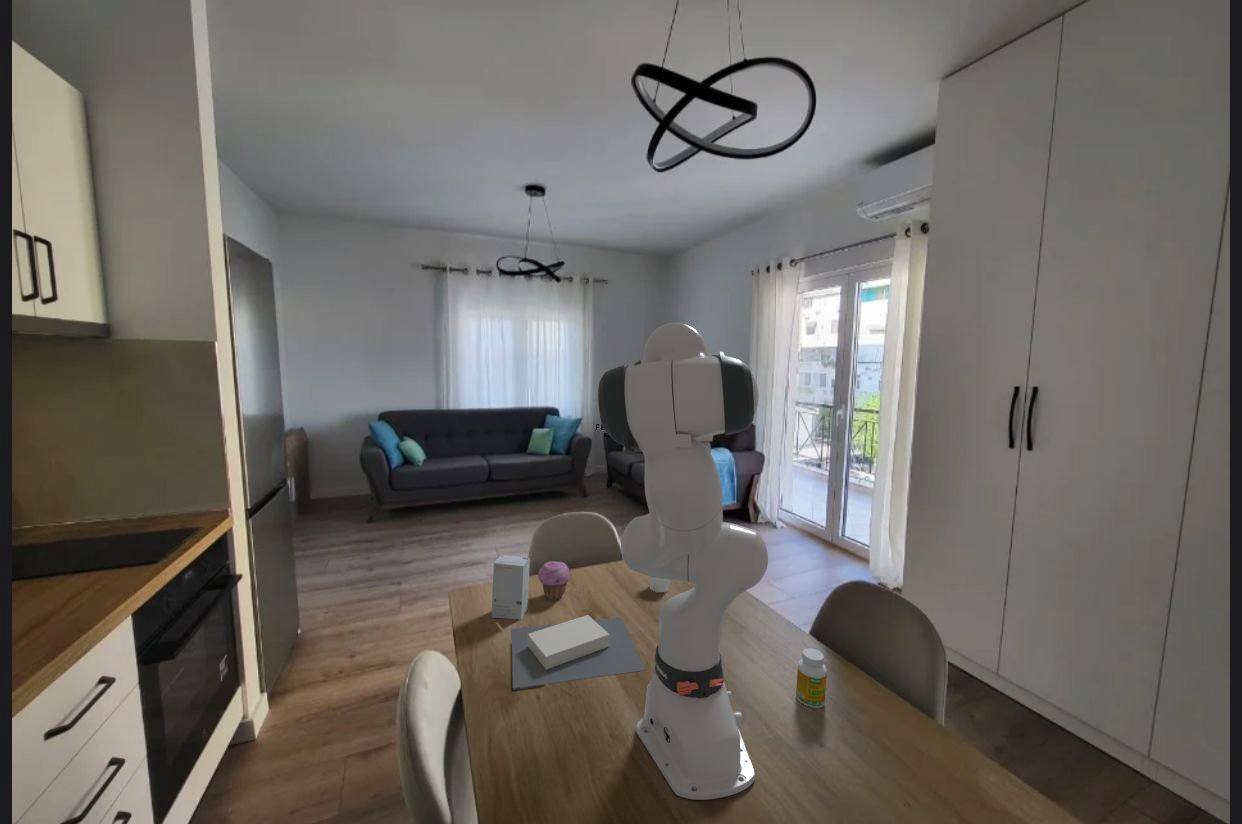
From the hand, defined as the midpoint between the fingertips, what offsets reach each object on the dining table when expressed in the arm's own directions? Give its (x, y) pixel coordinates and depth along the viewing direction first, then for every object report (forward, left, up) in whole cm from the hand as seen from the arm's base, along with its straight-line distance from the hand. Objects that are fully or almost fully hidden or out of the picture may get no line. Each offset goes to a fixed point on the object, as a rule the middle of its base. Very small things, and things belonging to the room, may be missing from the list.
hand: (684, 485), depth 116 cm
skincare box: (+16, +41, -37) cm, 58 cm away
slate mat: (-3, +27, -37) cm, 46 cm away
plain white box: (0, +21, -35) cm, 41 cm away
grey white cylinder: (+22, -2, -37) cm, 43 cm away
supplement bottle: (-29, -17, -37) cm, 50 cm away
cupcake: (+23, +29, -37) cm, 53 cm away
